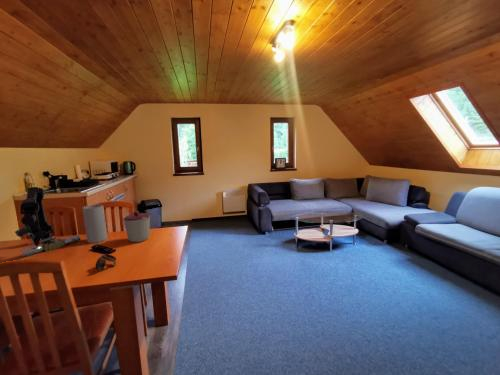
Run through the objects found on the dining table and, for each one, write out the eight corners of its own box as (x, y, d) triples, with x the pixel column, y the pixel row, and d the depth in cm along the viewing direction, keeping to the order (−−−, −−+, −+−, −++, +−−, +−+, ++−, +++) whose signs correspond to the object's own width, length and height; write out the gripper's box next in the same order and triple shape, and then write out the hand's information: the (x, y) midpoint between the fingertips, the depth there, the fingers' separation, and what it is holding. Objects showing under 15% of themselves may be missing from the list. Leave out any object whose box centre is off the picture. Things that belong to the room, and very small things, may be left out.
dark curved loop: (96, 266, 141) (103, 252, 143) (113, 272, 142) (120, 257, 144) (88, 270, 129) (95, 255, 131) (106, 276, 131) (114, 261, 132)
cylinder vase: (111, 238, 184) (106, 205, 180) (93, 244, 174) (88, 209, 170) (102, 236, 191) (97, 204, 187) (84, 241, 181) (79, 207, 177)
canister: (146, 233, 192) (143, 206, 189) (157, 239, 180) (154, 210, 177) (121, 240, 180) (117, 211, 176) (131, 246, 167) (127, 215, 164)
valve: (22, 255, 160) (20, 245, 159) (77, 240, 185) (76, 231, 184) (25, 257, 156) (23, 247, 155) (81, 241, 181) (80, 233, 180)
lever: (54, 237, 172) (53, 235, 171) (56, 238, 170) (56, 236, 170) (27, 245, 159) (27, 242, 159) (30, 245, 158) (30, 243, 157)
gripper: (9, 223, 153) (14, 248, 155) (21, 226, 143) (26, 252, 146) (32, 218, 162) (36, 242, 164) (45, 221, 153) (49, 246, 155)
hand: (36, 245), depth 157 cm, fingers closed
